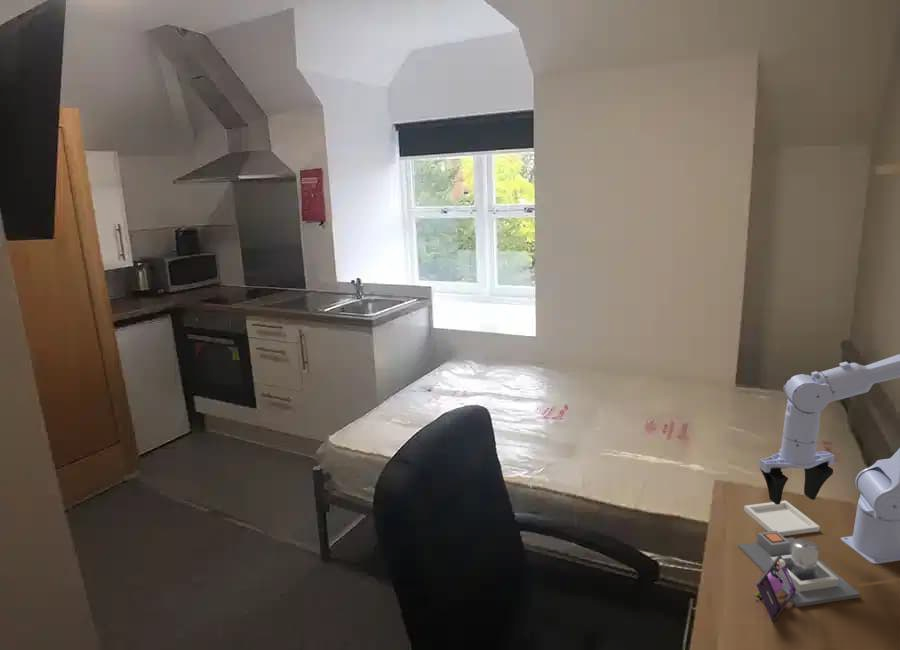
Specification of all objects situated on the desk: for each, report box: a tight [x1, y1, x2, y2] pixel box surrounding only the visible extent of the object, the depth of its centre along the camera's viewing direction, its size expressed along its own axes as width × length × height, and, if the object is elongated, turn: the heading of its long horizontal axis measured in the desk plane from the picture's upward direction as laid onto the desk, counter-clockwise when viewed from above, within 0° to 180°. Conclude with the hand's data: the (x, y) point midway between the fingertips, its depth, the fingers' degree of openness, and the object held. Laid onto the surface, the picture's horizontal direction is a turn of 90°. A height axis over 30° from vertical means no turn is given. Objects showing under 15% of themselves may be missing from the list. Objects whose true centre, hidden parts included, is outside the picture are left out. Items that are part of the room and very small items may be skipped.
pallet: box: [737, 531, 861, 608], centre depth 108 cm, size 12×16×3 cm
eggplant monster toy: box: [754, 556, 796, 622], centre depth 101 cm, size 7×5×9 cm
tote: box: [743, 500, 821, 537], centre depth 123 cm, size 10×10×1 cm
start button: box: [765, 533, 783, 543], centre depth 114 cm, size 2×2×2 cm
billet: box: [790, 538, 820, 581], centre depth 106 cm, size 4×4×6 cm
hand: (792, 499), depth 115 cm, fingers open, 7 cm apart
